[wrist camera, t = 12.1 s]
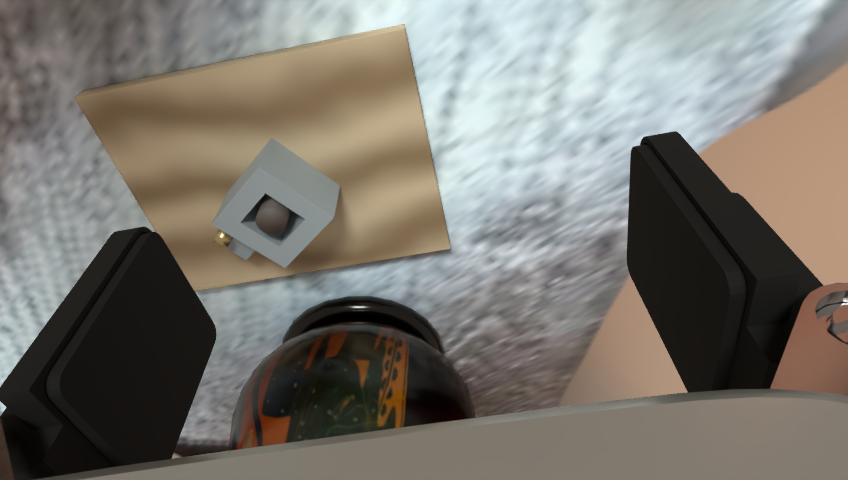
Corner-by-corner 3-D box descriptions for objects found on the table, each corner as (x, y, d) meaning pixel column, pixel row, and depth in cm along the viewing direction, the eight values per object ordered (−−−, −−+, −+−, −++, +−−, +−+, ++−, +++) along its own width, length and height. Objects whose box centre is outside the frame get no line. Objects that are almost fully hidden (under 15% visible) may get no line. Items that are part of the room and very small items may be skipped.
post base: (82, 90, 40) (36, 128, 35) (404, 23, 38) (403, 53, 33) (196, 282, 51) (173, 331, 46) (449, 240, 49) (453, 286, 44)
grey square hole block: (271, 137, 41) (258, 166, 38) (340, 185, 44) (334, 217, 40) (208, 215, 45) (191, 248, 42) (275, 255, 48) (264, 289, 44)
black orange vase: (378, 230, 48) (351, 580, 26) (506, 359, 59) (566, 686, 36) (213, 335, 56) (81, 677, 33) (353, 433, 66) (325, 742, 44)
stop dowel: (223, 211, 45) (210, 237, 42) (236, 209, 45) (225, 234, 42) (229, 223, 46) (217, 249, 43) (242, 221, 46) (231, 246, 43)
